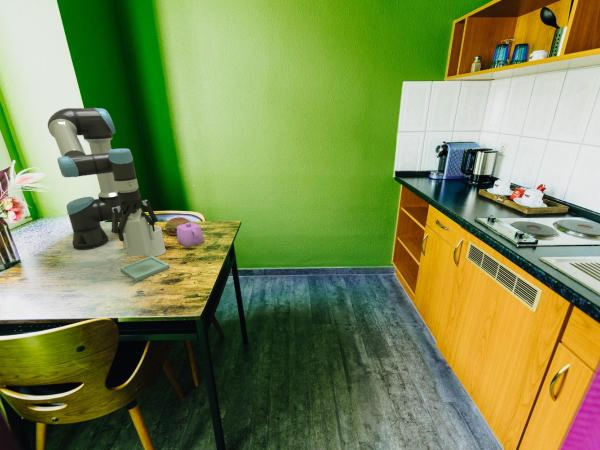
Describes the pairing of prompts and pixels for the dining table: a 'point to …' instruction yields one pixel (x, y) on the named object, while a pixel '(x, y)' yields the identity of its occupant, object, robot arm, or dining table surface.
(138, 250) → the milk carton
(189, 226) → the teapot
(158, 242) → the mug
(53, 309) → the dining table surface
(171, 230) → the food
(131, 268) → the tray
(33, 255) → the dining table surface
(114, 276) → the dining table surface
